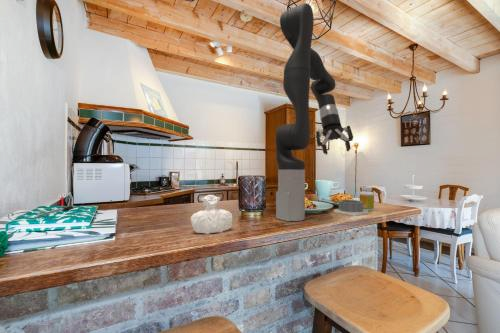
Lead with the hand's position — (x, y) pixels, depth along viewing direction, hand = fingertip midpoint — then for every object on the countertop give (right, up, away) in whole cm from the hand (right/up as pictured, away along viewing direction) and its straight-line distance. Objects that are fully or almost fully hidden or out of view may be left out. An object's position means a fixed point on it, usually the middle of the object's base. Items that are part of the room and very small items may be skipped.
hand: (337, 152), depth 97 cm
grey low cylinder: (+4, -24, -3) cm, 25 cm away
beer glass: (+14, -25, +4) cm, 28 cm away
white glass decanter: (-47, -24, -30) cm, 61 cm away
